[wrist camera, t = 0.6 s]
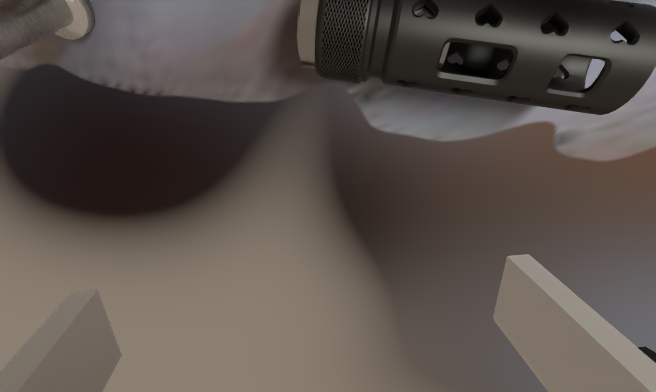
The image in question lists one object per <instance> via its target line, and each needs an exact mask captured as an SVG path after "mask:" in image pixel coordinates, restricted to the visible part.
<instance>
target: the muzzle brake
mask: <svg viewBox="0 0 656 392" xmlns="http://www.w3.org/2000/svg"><path fill="white" fill-rule="evenodd" d="M615 30H616V31H617V32H619V33H620V34H621V35H622V36H623V37H624V38H625V39H626V40H627V43H626V42H625V41H624V40H620V41H614V40H612V39H611V37H610V35H611V33H612V32H613V31H615ZM456 52H457V53H458V54H459V55H460V57H461V58H462V59H463V64H462V65H460V64H458V63H457V62H456V63H449V62H448V60H447V58H448V57H449V56H451V55H453V54H454V53H456ZM297 53H298V59H299V63H300V65H301V66H302V67H304V68H311V69H316V72H317V74H319V75H320V76H321V77H322V78H324V79H331V80H338V81H345V82H352V83H360V82H361V81H364V82H366V80H367V79H368V78H369V77H377V78H380V79H381V81H382V82H383V83H384V84H388V85H395V86H401V87H408V88H415V89H422V90H429V91H436V92H443V93H450V94H457V95H464V96H471V97H478V98H485V99H492V100H499V101H506V102H513V103H520V104H527V105H534V106H541V107H548V108H555V109H561V110H568V111H575V112H582V113H589V114H597V115H603V114H608V113H610V112H613V111H615V110H617V109H618V108H620V107H621V106H623V105H624V104H626V103H627V102H628V101H629V100H630V99H631V98H632V97H634V96H635V94H636V93H637V92H638V91H639V90H640V89H641V88H642V87H643V85H644V84H645V82H646V81H647V79H648V78H649V77H650V75H651V73H652V72H653V70H654V68H655V66H656V7H654V6H651V5H646V4H638V3H630V2H622V1H612V0H300V1H299V9H298V18H297ZM592 58H593V59H600V60H603V61H605V65H604V67H603V69H602V71H601V72H600V74H599V76H598V77H597V79H596V80H595V81H594V82H593V84H592V85H591V86H590V87H588V88H586V89H585V79H586V75H587V71H588V68H589V65H590V62H591V60H592ZM505 59H507V61H508V62H509V63H510V65H509V66H508V68H507V69H505V70H499V69H498V68H497V64H498V63H500V62H501V61H503V60H505ZM558 67H559V68H560V69H561V71H562V72H563V73H564V76H565V77H564V78H563V79H562V78H561V77H555V78H553V76H554V74H555V72H556V70H557V68H558Z"/></svg>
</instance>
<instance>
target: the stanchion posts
mask: <svg viewBox="0 0 656 392" xmlns="http://www.w3.org/2000/svg"><path fill="white" fill-rule="evenodd" d="M94 23H95V18H94V13H93V9H92V7H91V4H90V2H89V1H88V0H6V1H4V2H1V3H0V60H1V59H3V58H5V57H7V56H9V55H11V54H13V53H15V52H17V51H19V50H21V49H23V48H25V47H27V46H29V45H31V44H33V43H35V42H37V41H39V40H41V39H43V38H45V37H47V36H49V35H51V34H53V33H54V34H56V35H58V36H60V37H62V38H65V39H71V40H74V39H79V38H81V37H82V36H84V35H86V34H88V33H90V32H91V31H92V29H93V27H94Z"/></svg>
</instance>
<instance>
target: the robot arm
mask: <svg viewBox="0 0 656 392" xmlns="http://www.w3.org/2000/svg"><path fill="white" fill-rule="evenodd" d="M493 320H494V321H495V322H496V323H497V325H498V326H499V328H500V329H501V330H502V331H503V333H504V334H505V335H506V337H507V338H508V339H509V341H510V342H511V343H512V345H513V346H514V347H515V349H516V350H517V351H518V353H519V354H520V355H521V357H522V358H523V359H524V360H525V362H526V363H527V364H528V366H529V367H530V368H531V370H532V371H533V372H534V374H535V375H536V376H537V378H538V379H539V380H540V382H541V383H542V384H543V386H544V387H545V388H546V389H547V391H548V392H656V353H655V352H654V351H652V350H650V349H648V348H647V347H638V348H637V347H636V346H635V345H634V344H633V343H631V342H630V341H629V340H628V339H627V338H626V337H624V336H623V335H622V334H621V333H620V332H619V331H617V330H616V329H615V328H614V327H613V326H612V325H610V324H609V323H608V322H607V321H606V320H605V319H603V318H602V317H601V316H600V315H599V314H597V313H596V312H595V311H594V310H593V309H592V308H591V307H589V306H588V305H587V304H586V303H585V302H584V301H582V300H581V299H580V298H579V297H578V296H577V295H575V294H574V293H573V292H572V291H570V289H568V288H567V287H566V286H565V285H564V284H562V283H561V282H560V281H559V280H558V279H557V278H556V277H554V276H553V275H552V274H551V273H550V272H549V271H547V270H546V269H545V268H544V267H543V266H542V265H540V264H539V263H538V262H537V261H536V260H535V259H533V258H532V257H531V256H530V255H529V254H528V255H515V256H507V260H506V265H505V269H504V273H503V278H502V282H501V286H500V290H499V294H498V299H497V303H496V307H495V312H494V316H493ZM121 356H122V355H121V352H120V349H119V346H118V344H117V341H116V338H115V336H114V333H113V330H112V327H111V325H110V322H109V319H108V316H107V314H106V311H105V308H104V305H103V302H102V300H101V297H100V294H99V291H98V290H85V291H74V292H70V293H69V294H68V295H67V297H66V298H65V299H64V300H63V301H62V302H61V303H60V304H59V306H58V307H57V308H56V309H55V310H54V311H53V312H52V313H51V315H50V316H49V317H48V318H47V319H46V320H45V321H44V322H43V324H42V325H41V326H40V327H39V328H38V329H37V330H36V331H35V333H34V334H33V335H32V336H31V337H30V338H29V339H28V341H27V342H26V343H25V344H24V345H23V346H22V347H21V348H20V349H19V351H18V352H17V353H16V354H15V355H14V356H13V357H12V359H11V360H10V361H9V362H8V363H7V364H6V365H5V366H4V368H3V369H2V370H1V371H0V392H102V391H103V389H104V388H105V386H106V384H107V382H108V380H109V378H110V376H111V375H112V373H113V371H114V369H115V367H116V365H117V364H118V362H119V360H120V358H121Z"/></svg>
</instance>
